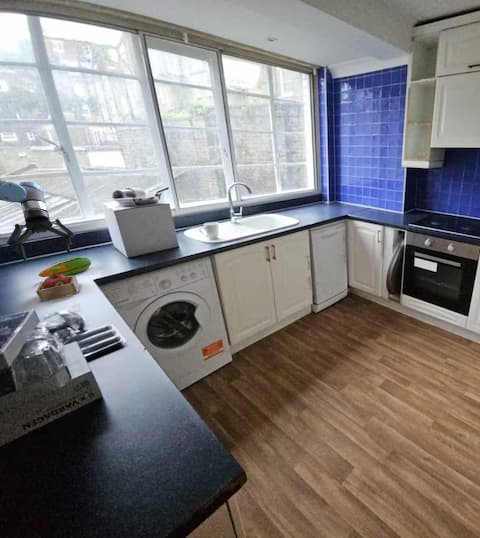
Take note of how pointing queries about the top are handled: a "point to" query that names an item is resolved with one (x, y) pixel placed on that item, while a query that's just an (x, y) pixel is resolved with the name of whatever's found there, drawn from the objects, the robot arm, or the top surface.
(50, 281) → the apple
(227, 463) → the top surface
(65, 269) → the corn
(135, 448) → the top surface
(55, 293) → the wooden crate
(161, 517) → the top surface
